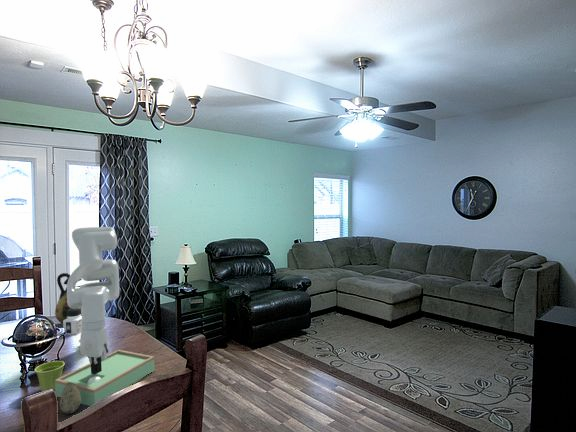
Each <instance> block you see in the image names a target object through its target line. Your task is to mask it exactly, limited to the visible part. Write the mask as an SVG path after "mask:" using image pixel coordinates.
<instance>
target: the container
mask: <svg viewBox="0 0 576 432" xmlns="http://www.w3.org/2000/svg"><path fill="white" fill-rule="evenodd" d="M63 328H64V329H65V330H66V334H65V335H79V334H81V331H82V316H81V309H80V308H76V309H73V308H70V309H68V310H67V319H65V320H63V326H62V329H63Z"/></svg>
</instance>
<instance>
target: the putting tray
mask: <svg viewBox="0 0 576 432" xmlns="http://www.w3.org/2000/svg"><path fill="white" fill-rule="evenodd" d="M155 363H156V362H155V356H153V355H147V354H143V353H138V352H137V353H136V352H133V351H127V350H122V349H117V350H115V351H113V352H111V353H109V354H108V353H107V358H106V359H104V360H102V361H101V367H102V371H101V372H99V373H97V374H95V375H94V374H91V363H90V362H89V363H87V364H86V365H83V366H81V367H79V368H78V369H75V370H73V371H71V372H69V373H67V374H64V375H62V377H60V378H58V379H56V380H55V390H54V394H55V396H56V395H57V396H56V397H57V398H60V397H59V396H61V394H62V391H63V389H64V387H65V386H66V385H67V384H68V383H74V384H75V385H76V386H77V388H78V390H79V392H80V396H81V403H80V405H81V404H82V405H85V406H89V407H92V406H91V405H93V404H95V403H96V402H98V401H100V400H102V399H104V398H106V397H107V396H109V395H111V394H113V393H115V392H117V391H119V390H121V389H123V388H126V387H128V386H129V387H131V386H132V383H133V385H134V384H136V383H138V382H139V381H140V380H142V379H144V378H145V377H144V376H146V375H147V374H149V373H151V372H152V373H154V372H155V371H156V367H155V366H156V365H155ZM153 371H154V372H153ZM152 373H151V374H152ZM149 375H150V374H149ZM94 376H98V377H100V378H101V379H99V380H97V381H95V382H93V383H92V384H87V382H88V380H89V379H90V378H92V377H94ZM147 376H148V375H147ZM147 376H146V377H147ZM143 377H144V378H143ZM141 378H142V379H141ZM130 384H131V386H130ZM129 387H128V388H129ZM126 389H127V388H126Z"/></svg>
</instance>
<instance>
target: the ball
mask: <svg viewBox="0 0 576 432" xmlns="http://www.w3.org/2000/svg"><path fill="white" fill-rule="evenodd" d="M99 379H101V378H100V377H98V376H94V377H92V378H90V379H89V380H88V382H87V384H92V383H93V382H95V381H97V380H99Z"/></svg>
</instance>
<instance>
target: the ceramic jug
mask: <svg viewBox="0 0 576 432" xmlns="http://www.w3.org/2000/svg"><path fill="white" fill-rule="evenodd" d="M70 275H71V274H69V273H67V272H62V273H60V274H58V275H57V279H56V282H57V286H58V287H59V290H60V294H59V299H58V301H57V303H56V306H55V308H54V310H55V311H54V316H55V318H56V320H57V321H58V322H59V323H61V327H63V320H65V319H67V310H68V309H70V307H69V306H68V303H67V287H66V288H65V289H64V287H63V285H66V286H67V282H68V279H69V277H70ZM65 277H66V278H67V279H66V280H64V282H63V283H62V282H61V279H62V278H65ZM82 280H83V279H80V280H79V281H78V282H81V281H82ZM62 284H63V285H62ZM80 309H81V308H80ZM81 316H82V314H81Z"/></svg>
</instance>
